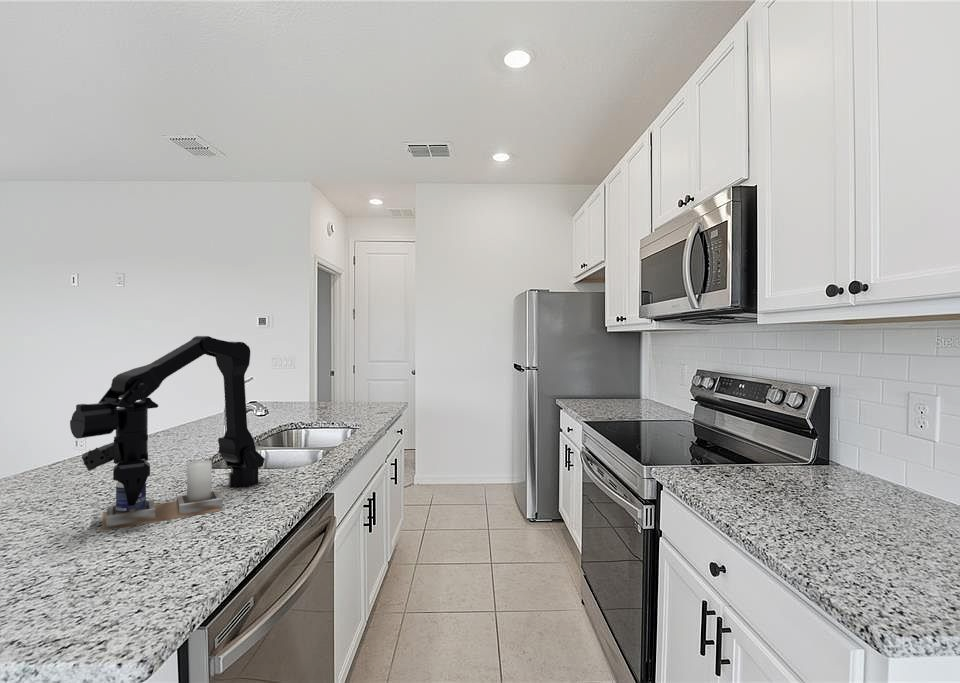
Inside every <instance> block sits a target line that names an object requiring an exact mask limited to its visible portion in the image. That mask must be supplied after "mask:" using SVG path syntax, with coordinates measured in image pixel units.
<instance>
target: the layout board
mask: <svg viewBox="0 0 960 683" xmlns="http://www.w3.org/2000/svg"><path fill="white" fill-rule="evenodd" d="M218 512H223V497H222V496H221V494H220V493H219V491H218V489H213V490H212V489H211V500H204V501H198V502H191V503H187V493H185V494H177V495H176V501H170V502H162V503H157V504H155V499H154V498H151V499H146V510H140V511H133V512H127V513H120V514H116V503H115V504H108V505H107V509H106V511H104V512H103V515H102V516H103V517H102V522H101V528H100V531H101V532H105V531H111V530H112V531H113V530H117V529H122V528H129V527H134V526H141V525H147V524H151V523H156V522H157V523H159V522H164V521H169V520H177V519H181V518H188V517H193V516H200V515H206V514H212V513H218Z"/></svg>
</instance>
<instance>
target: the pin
mask: <svg viewBox="0 0 960 683" xmlns="http://www.w3.org/2000/svg"><path fill="white" fill-rule="evenodd" d="M212 464H213V463H212V460H209V459H208V460H207V459H205V460H204V459H203V460H196V461H191V462H188V463H187V464H186V494H187V503H191V502H198V501H204V500H211V490H212V483H213V482H212V477H213V476H212V475H213V474H212V473H213V472H212V469H213V468H212V466H213V465H212Z"/></svg>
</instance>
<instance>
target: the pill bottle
mask: <svg viewBox="0 0 960 683" xmlns="http://www.w3.org/2000/svg"><path fill="white" fill-rule="evenodd" d="M115 485H116V486H115V504H116V514H120V513H127V512H133V511H140V510H146V500H147V481H146V482H145V484H144V486H143V488H142V490H141V493H140V495H139V497H138V499H137V501H136V504H135V505H133V506H129V505H128V501H127V497H126V493H125V489H124V486H123V484H122V483H120V482H119V481H116V484H115Z"/></svg>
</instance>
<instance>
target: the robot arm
mask: <svg viewBox="0 0 960 683" xmlns="http://www.w3.org/2000/svg"><path fill="white" fill-rule="evenodd" d="M204 355H206V356H209V357H213V358H215V362H216V366H217V368H218V370H219V371H220V372H221V374H222V376H223V387H224V388H223V390H224V405H225V407H224V408H225V421H226V431H225V432H224V435H223V437H218V438H217V443H218V450H217V453H218V454H220V457H221V459H223V460H224V462H225V464H226V466H227V467H231V468H230V472H229V473H228V486H229V488H231V489H232V488H233V489H234V488H249V487H253V486H255V485H258V484H259V468H262V467H263V466H264V463H265V458H264V456H262V455H261V454H260V453H259V452H258V451H257V448H256V444H255V440H254V437H253V436H252V434H251V432H250V430H249V429H248V420H247V419H248V418H247V401H246V388H245V387H246V383H245V381H246V380H245V374H246V372H247V371H248V368H249V367H250V364H251V363H250V362H251V348H250V345H247V343H245V342H243V341H227V340H223V339H218V338H214V337H212V336H208V335H196V336H194V337H192V338H191V339H190V340H189V341H187V342H186V343H184V344H182V345H181V346H178V347H176V348H175V349H173V350H171V351H169V352H168V353H166V354H164V355H163V356H161V357H160V358H158V359H156V360H155V361H152V362H150V363H148V364H145V365H142V366H139V367H138V366H137V367H135V368H131V369H129V370H127V371H126V370H125V371H124V372H121V373H119V374H117V375H115V376H114V377H113V379H111V384H110V387H109V388H108V389H107V391H106V392H105V394H104V395H103V396H102V397H101V399H100V400H99V401H98V403H87V404H86V403H78V404H76V405H75V411H74V412H73V413H72V415H71V418H70V421H69V428H70V432H71V435H73V437H74V438H75V439H77V440H79V439H86V438H90V437H97V436H106V435H110V434H112V433H114V431H115V436H113V441H112V442H110V443H108V444H104V445H102V446H99V447H95V448H94V449H92V450H88V451H86V452H85V453H82V455H81V459H82V461H83V465H84V466H85V468H86V470H87V471H89V472H90V471H92V470H95V469H97V468H98V467H100V466H103V465H104V464H107V463H111V462H112V461H113V464H115V465H114V467H113V470H112V471H113V472H112V473H113V476H112V478H113V481H116V482H118V481H119V482H120V483H122V484H123V486H124V489H125V493H126V497H127V501H128V505H129V506H133V505H135V504H136V501H137V499H138V497H139V495H140V493H141V490H142V488H143V486H144V484H145V482H146V483H147V479H148V477H150V476H151V465H150V462H148V461H149V452H148V446H149V444H148V443H149V442H148V440H149V434H148V430H149V428H148V425H149V424H148V417H149V416H148V412H149V411H148V410H149V409H156V408H158V407H159V404H157V403H156V402H155V401H153V400H152V398H151V397H149V396H151V395H152V394H154V392H155V391H156V390H158V389H159V388H160V386H161V385H162V383H163V381H165V380H166V379H167V378H168V377H169V376H172V375H174V374H175V373H176V372H178V371H180V370H182V369H183V368H185V367H186V366H188V365H189V364H191V363H193V362H194V361H196V360H197V359H199V358H200V357H202V356H204Z"/></svg>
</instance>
